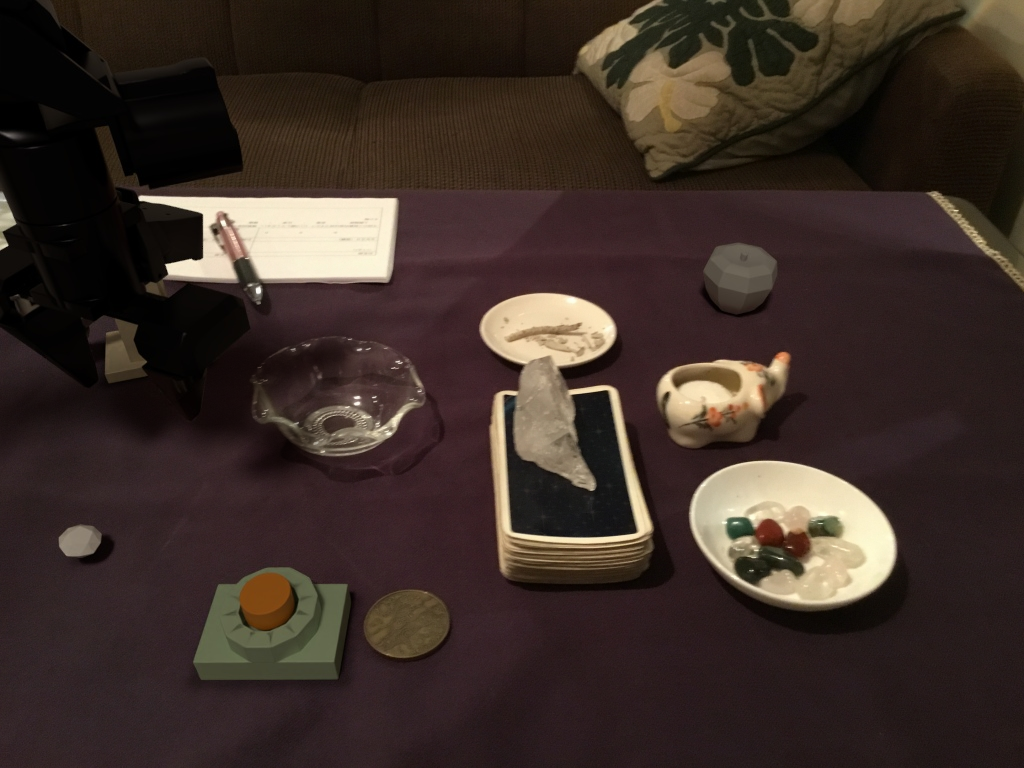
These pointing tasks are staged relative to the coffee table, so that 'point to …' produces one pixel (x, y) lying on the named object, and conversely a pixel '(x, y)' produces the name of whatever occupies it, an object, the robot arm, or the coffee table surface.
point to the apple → (739, 277)
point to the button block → (276, 634)
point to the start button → (267, 601)
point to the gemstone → (80, 541)
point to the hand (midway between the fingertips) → (141, 400)
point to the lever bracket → (126, 347)
